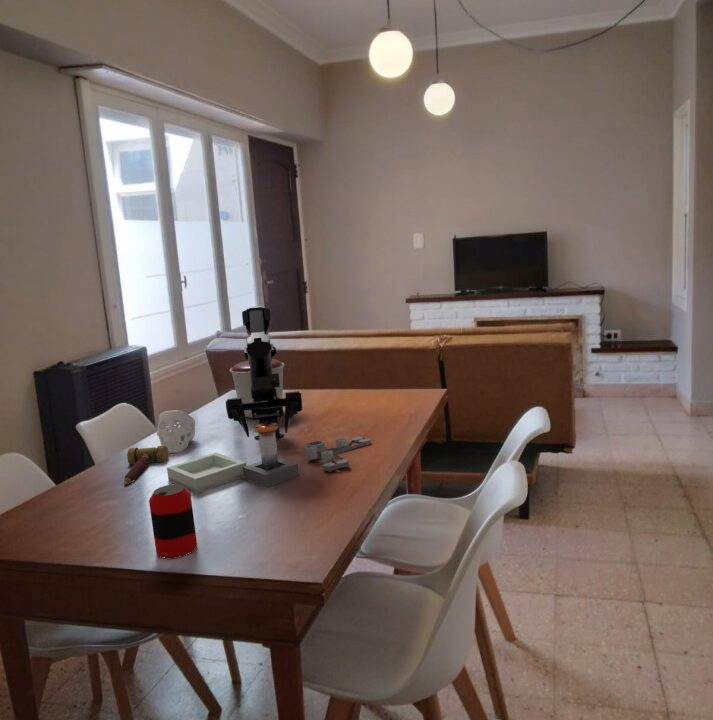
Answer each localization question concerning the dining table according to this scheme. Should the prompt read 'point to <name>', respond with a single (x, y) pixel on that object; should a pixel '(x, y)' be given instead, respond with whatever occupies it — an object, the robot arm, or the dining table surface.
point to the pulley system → (332, 452)
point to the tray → (206, 472)
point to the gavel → (144, 459)
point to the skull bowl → (175, 430)
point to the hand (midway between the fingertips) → (267, 434)
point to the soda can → (172, 521)
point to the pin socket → (271, 473)
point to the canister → (244, 381)
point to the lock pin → (268, 445)
